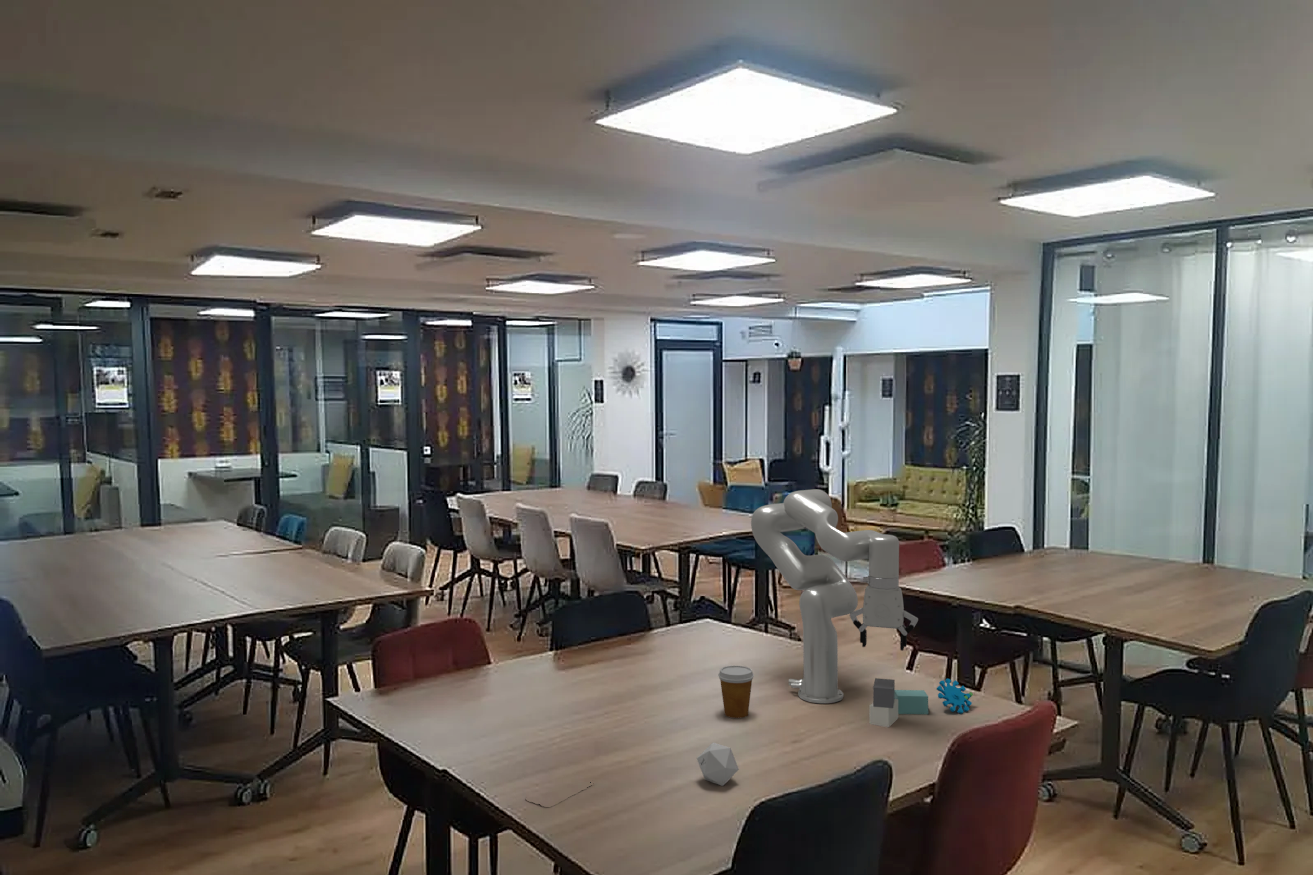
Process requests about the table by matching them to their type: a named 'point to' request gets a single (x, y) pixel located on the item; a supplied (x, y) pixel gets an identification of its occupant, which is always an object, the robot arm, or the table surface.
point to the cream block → (884, 715)
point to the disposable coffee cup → (736, 690)
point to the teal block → (912, 701)
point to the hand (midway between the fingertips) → (883, 647)
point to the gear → (954, 696)
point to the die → (717, 764)
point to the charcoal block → (883, 693)
